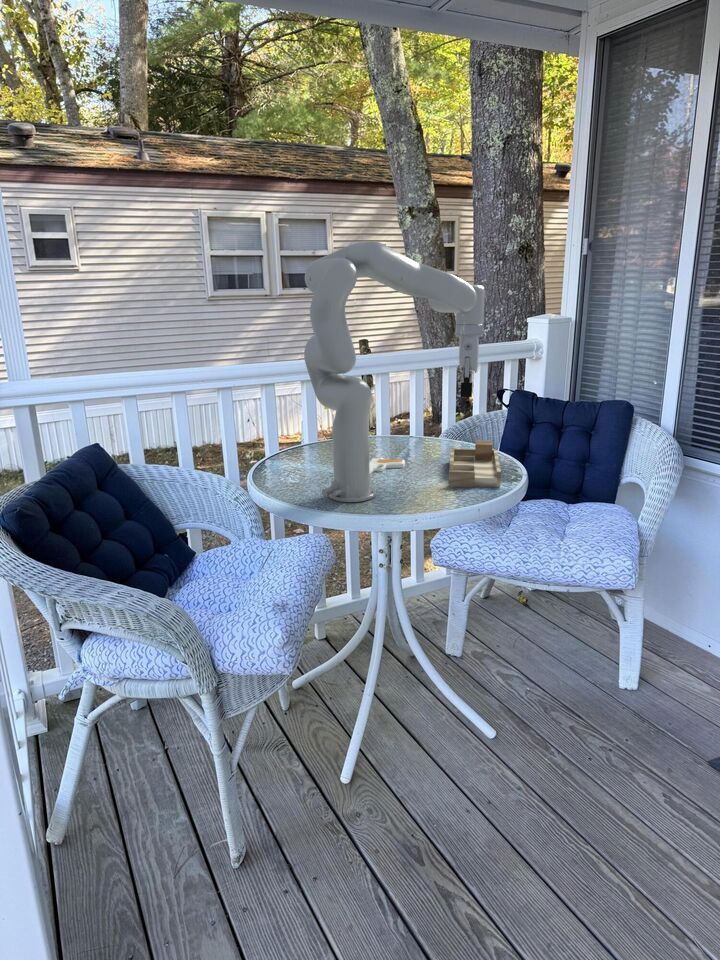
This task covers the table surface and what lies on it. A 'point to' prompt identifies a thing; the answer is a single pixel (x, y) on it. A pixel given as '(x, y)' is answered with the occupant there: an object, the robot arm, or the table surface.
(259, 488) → the table surface
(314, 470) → the table surface
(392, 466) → the pistol
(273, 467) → the table surface
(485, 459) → the block
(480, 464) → the tray
